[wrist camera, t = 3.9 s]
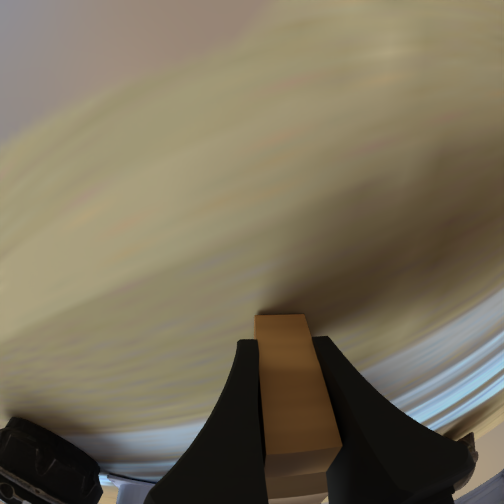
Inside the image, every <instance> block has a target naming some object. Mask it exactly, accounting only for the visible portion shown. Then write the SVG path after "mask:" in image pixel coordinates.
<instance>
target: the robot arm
mask: <svg viewBox="0 0 504 504" xmlns="http://www.w3.org/2000/svg"><path fill="white" fill-rule="evenodd" d="M312 342H313V346H314V349H315V352H316V356H317V359H318V361H319V364H320V367H321V371H322V374H323V378H324V381H325V385H326V388H327V392H328V395H329V399H330V402H331V406H332V409H333V413H334V416H335V420H336V424H337V427H338V431H339V435H340V438H341V442H342V448H341V449H340V451H339V452H338V454H337V456H336V457H335V459H334V460H333V462H332V463H331V465H330V466H329V468H328V469H327V471H326V479H327V488H328V499H329V504H504V469H503V470H502V471H501V472H499V473H498V474H497V475H495V476H494V477H492V478H491V479H489V480H488V481H486V482H485V483H483V484H482V485H480V486H478V487H477V488H475V489H474V490H472V491H470V492H469V493H467V494H465V495H463V496H462V497H460V498H458V499H457V500H453V498H452V494H454V493H455V489H454V486H453V485H454V484H455V483H457V482H458V481H459V480H461V479H462V478H463V477H465V476H466V475H467V474H469V473H470V472H471V471H472V470H473V469H474V468H475V465H476V464H475V462H474V460H473V458H472V455H471V453H470V451H469V449H468V447H467V446H466V445H464V444H461V443H459V442H456V441H454V440H451V439H449V438H446V437H444V436H442V435H440V434H438V433H436V432H434V431H432V430H430V429H428V428H427V427H425V426H423V425H422V424H420V423H419V422H417V421H415V420H414V419H412V418H411V417H409V416H408V415H406V414H405V413H403V412H402V411H401V410H399V409H398V408H397V407H395V406H394V405H393V404H392V403H390V402H389V401H388V400H387V399H386V398H385V397H383V396H382V395H381V394H380V393H379V392H378V391H377V390H376V389H375V388H374V387H373V386H372V385H371V384H370V383H369V382H368V381H367V380H366V379H365V378H364V377H363V376H362V375H361V374H360V373H359V372H358V371H357V370H356V368H355V367H354V366H353V365H352V364H351V363H350V362H349V361H348V359H347V358H346V357H345V356H344V355H343V354H342V352H341V351H340V350H339V349H338V347H337V346H336V345H335V344H334V343H333V341H332V340H331V339H330V338H329V337H328V336H320V337H312ZM258 377H259V347H258V340H257V339H240V340H239V341H238V342H237V350H236V355H235V358H234V362H233V365H232V368H231V371H230V374H229V376H228V379H227V382H226V384H225V386H224V389H223V391H222V393H221V395H220V397H219V399H218V401H217V403H216V405H215V407H214V409H213V411H212V413H211V415H210V416H209V418H208V420H207V421H206V423H205V425H204V426H203V428H202V429H201V431H200V432H199V434H198V435H197V437H196V438H195V440H194V441H193V442H192V444H191V445H190V447H189V448H188V449H187V450H186V452H185V453H184V454H183V455H182V456H181V458H180V459H179V460H178V461H177V462H176V464H175V465H174V466H173V467H172V468H171V469H170V470H169V472H168V473H167V474H166V475H165V476H164V477H163V478H162V479H161V480H160V481H159V482H158V483H157V484H152V483H146V482H140V481H135V480H130V479H125V478H121V477H116V476H112V475H107V478H108V479H109V480H110V481H111V482H112V483H113V484H114V485H116V486H117V487H118V488H119V491H118V496H117V502H116V504H269V501H268V494H267V487H266V480H265V472H264V463H263V455H262V446H261V436H260V426H259V416H258ZM23 504H31V503H29V502H27V501H26V500H25V501H23Z"/></svg>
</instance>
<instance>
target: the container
mask: <svg viewBox="0 0 504 504" xmlns="http://www.w3.org/2000/svg"><path fill="white" fill-rule="evenodd" d="M99 473H100V467H99V466H98V464H97V463H96V462H95V461H93V460H92V459H91V458H90V457H89V456H87V455H86V454H85V453H84V452H83V451H81V450H79V449H78V448H76V447H75V446H73V445H72V444H70V443H68V442H67V441H65V440H64V439H62V438H61V437H59V436H57V435H55V434H54V433H52V432H50V431H48V430H46V429H44V428H42V427H39V426H37V425H35V424H33V423H31V422H28V421H26V420H24V419H22V418H17V417H12V418H11V419H10V421H9V422H8V424H7V425H6V427H5V428H3V429H0V501H2V502H3V503H5V504H23V501H25V500H26V501H27V502H29V503H31V504H97V503H98V502H99V500H100V498H101V496H102V494H103V490H102V487H101V485H100V481H99V476H98V475H99Z"/></svg>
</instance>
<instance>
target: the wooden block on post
mask: <svg viewBox="0 0 504 504" xmlns="http://www.w3.org/2000/svg"><path fill="white" fill-rule="evenodd" d="M254 339H257V340H258V347H259V377H258V416H259V426H260V436H261V446H262V455H263V463H264V472H265V480H266V487H267V494H268V501H269V504H320V503H321V502H322V501H323V500H324V499H325V498H326V497H327V496H328V488H327V479H326V471H327V469H328V468H329V466H330V465H331V463H332V462H333V460H334V459H335V457H336V456H337V454H338V452H339V451H340V449H341V448H342V442H341V438H340V435H339V431H338V427H337V424H336V420H335V416H334V413H333V409H332V406H331V402H330V399H329V395H328V392H327V388H326V385H325V381H324V378H323V374H322V371H321V367H320V364H319V361H318V359H317V356H316V352H315V349H314V346H313V342H312V338H311V334H310V331H309V328H308V325H307V321H306V318H305V315H304V314H290V315H255V317H254Z"/></svg>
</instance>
